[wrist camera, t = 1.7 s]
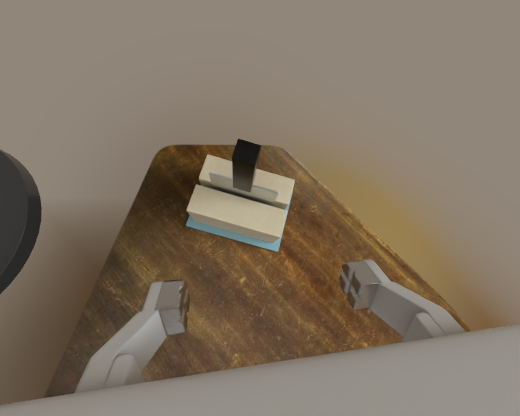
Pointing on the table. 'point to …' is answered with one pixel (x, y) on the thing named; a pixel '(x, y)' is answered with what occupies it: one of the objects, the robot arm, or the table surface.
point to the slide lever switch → (240, 207)
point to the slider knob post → (244, 175)
